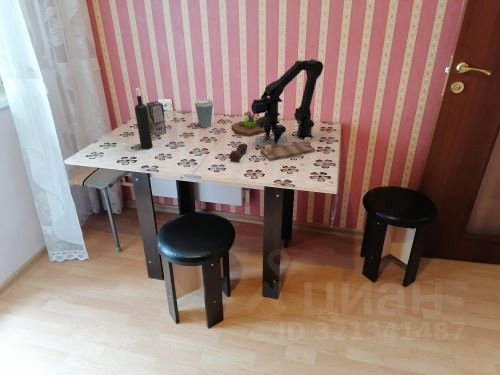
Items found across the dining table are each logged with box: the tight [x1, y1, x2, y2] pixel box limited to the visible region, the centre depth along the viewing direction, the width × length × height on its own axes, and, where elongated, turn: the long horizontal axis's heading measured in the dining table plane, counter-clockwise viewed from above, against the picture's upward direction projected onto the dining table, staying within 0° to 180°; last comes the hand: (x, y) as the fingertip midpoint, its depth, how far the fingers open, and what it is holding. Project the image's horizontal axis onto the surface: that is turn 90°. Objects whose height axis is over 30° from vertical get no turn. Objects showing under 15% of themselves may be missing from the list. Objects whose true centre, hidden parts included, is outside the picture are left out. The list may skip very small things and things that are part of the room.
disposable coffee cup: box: [194, 98, 214, 129], centre depth 213 cm, size 11×11×15 cm
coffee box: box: [145, 100, 167, 136], centre depth 205 cm, size 9×6×16 cm
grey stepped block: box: [254, 133, 288, 148], centre depth 193 cm, size 16×6×3 cm, turn 114°
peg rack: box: [260, 137, 316, 162], centre depth 182 cm, size 25×10×6 cm, turn 114°
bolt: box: [228, 142, 248, 163], centre depth 179 cm, size 6×5×15 cm
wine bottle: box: [134, 87, 154, 150], centre depth 183 cm, size 6×6×30 cm
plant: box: [231, 111, 266, 137], centre depth 208 cm, size 20×20×11 cm
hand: (271, 140), depth 193 cm, fingers open, 9 cm apart
